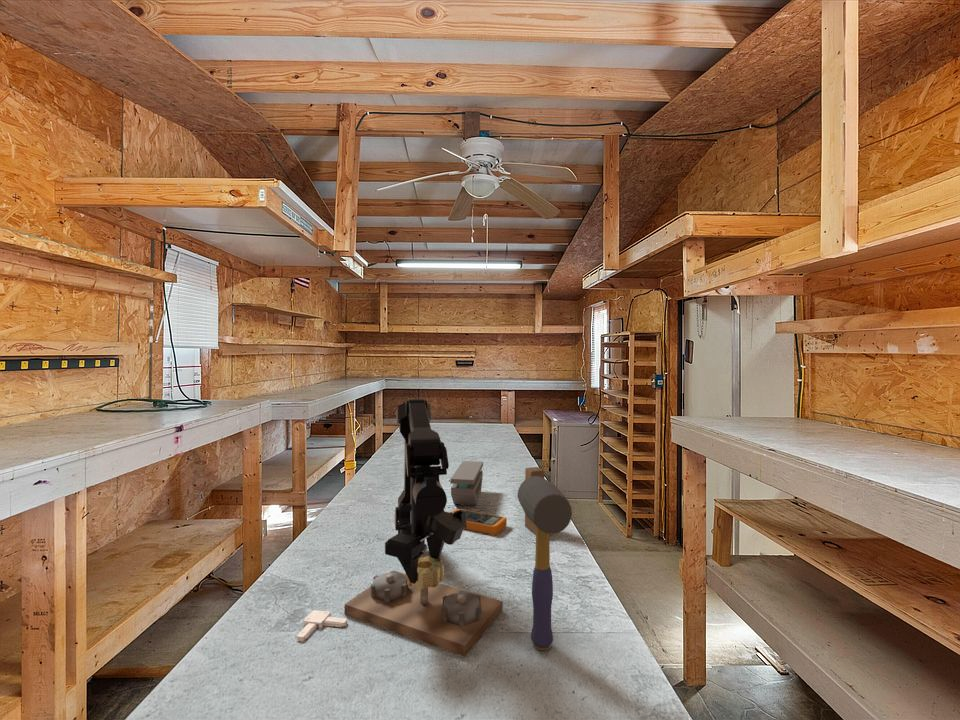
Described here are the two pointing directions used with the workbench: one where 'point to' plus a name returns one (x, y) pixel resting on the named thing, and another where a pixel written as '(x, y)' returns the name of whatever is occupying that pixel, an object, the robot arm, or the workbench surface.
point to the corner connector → (319, 623)
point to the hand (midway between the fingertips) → (424, 574)
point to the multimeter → (484, 522)
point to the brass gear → (428, 573)
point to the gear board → (426, 612)
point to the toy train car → (467, 483)
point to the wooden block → (528, 473)
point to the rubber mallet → (543, 548)
